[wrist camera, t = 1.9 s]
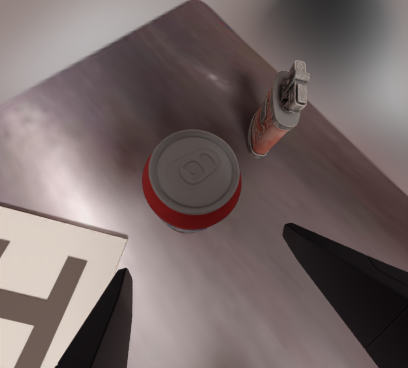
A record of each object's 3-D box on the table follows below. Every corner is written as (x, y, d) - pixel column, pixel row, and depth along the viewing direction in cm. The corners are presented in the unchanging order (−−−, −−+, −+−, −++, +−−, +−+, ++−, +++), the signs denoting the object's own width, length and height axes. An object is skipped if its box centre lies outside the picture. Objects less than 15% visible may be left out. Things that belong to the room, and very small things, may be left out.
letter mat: (51, 439, 14) (46, 446, 13) (-156, 397, 13) (-168, 403, 12) (127, 239, 19) (126, 239, 18) (-16, 201, 18) (-21, 201, 18)
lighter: (250, 112, 27) (287, 45, 18) (270, 117, 27) (317, 53, 18) (245, 155, 24) (285, 103, 15) (267, 160, 25) (321, 112, 15)
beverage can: (149, 202, 21) (110, 157, 9) (191, 171, 23) (202, 103, 11) (183, 246, 19) (186, 257, 8) (224, 209, 21) (273, 177, 10)
